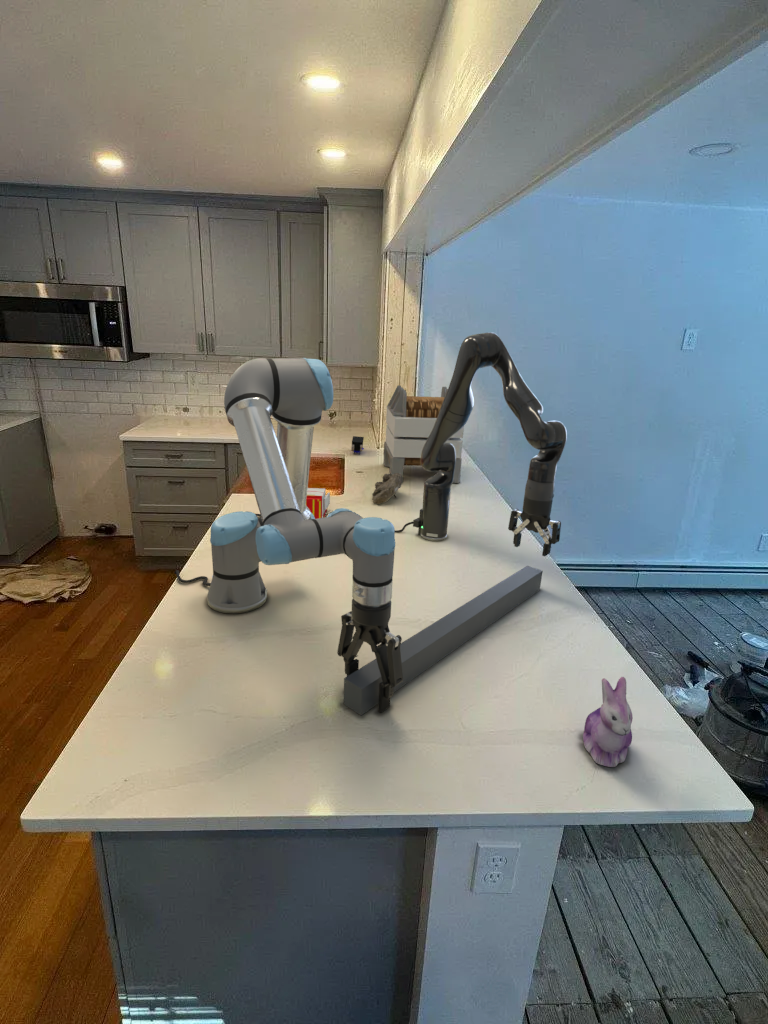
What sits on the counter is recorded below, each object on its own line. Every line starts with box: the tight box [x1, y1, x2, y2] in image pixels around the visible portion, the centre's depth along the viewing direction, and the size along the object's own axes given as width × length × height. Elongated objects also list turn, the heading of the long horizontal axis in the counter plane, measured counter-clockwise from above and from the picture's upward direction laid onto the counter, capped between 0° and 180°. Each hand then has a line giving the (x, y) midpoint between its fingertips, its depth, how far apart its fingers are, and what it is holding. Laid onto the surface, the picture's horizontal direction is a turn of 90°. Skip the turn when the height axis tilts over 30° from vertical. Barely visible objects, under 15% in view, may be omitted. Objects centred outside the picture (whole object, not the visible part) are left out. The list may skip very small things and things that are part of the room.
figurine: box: [582, 676, 633, 768], centre depth 102 cm, size 9×10×15 cm
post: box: [343, 565, 544, 716], centre depth 137 cm, size 75×5×6 cm, turn 139°
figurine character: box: [350, 435, 364, 455], centre depth 308 cm, size 7×8×15 cm
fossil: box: [371, 472, 404, 505], centre depth 236 cm, size 22×10×15 cm
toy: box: [306, 487, 331, 519], centre depth 207 cm, size 12×13×30 cm
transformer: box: [383, 384, 465, 484], centre depth 268 cm, size 34×33×41 cm
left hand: (367, 698), depth 115 cm, fingers open, 8 cm apart
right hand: (530, 550), depth 158 cm, fingers open, 8 cm apart
